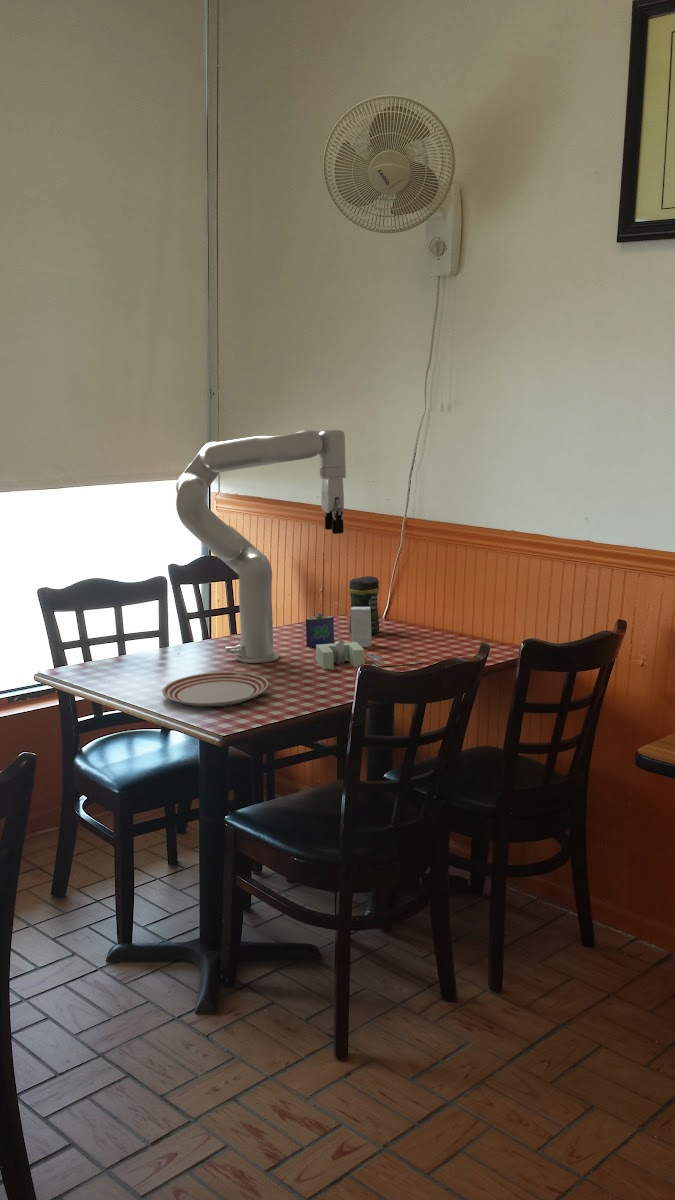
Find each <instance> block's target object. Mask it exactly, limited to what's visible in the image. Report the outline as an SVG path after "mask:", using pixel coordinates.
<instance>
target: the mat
mask: <svg viewBox="0 0 675 1200" xmlns="http://www.w3.org/2000/svg"><path fill="white" fill-rule="evenodd" d="M406 652H408V651H406ZM371 654H372V653H370V654H366V655H367V656H368V657H369V658H370V659H371V660H375V659H374V658H376V659H383V658H380V657H382V656H377V655H376V654H377V653H374V654H375V655H373V656H371ZM367 656H366V657H367ZM368 657H367V658H368ZM369 658H368V659H369ZM370 659H369V660H370ZM371 660H370V661H371ZM376 661H378V660H376ZM378 662H381V661H378ZM374 663H376V665H375V666H376V667H377V666H380V665H378V663H377V662H374ZM374 663H373V664H374ZM381 663H384V662H381ZM417 663H422V664H423V662H422V661H421V660H420V662H417ZM380 668H384V667H383V666H381V667H380Z"/></svg>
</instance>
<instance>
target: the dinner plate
mask: <svg viewBox="0 0 675 1200" xmlns="http://www.w3.org/2000/svg"><path fill="white" fill-rule="evenodd" d="M269 686H270V685H269V681H268V679H267V678H265V677H264V676H261V675H259V674H255V673H254V674H253V673H250V672H240V671H214V672H213V671H212V672H204V673H198V674H193V675H190V676H185V677H181V678H177V679H175V680H172V681H171V682H170V683H167V684H166V685H165V686H164V687H163V688H162V691H161V692H162V695H163V697H165V698H166V699H168V700H171V701H174V702H176V703H179V704H184V705H188V706H192V705H194V706H193V707H198V706H221V707H226V706H225V705H229V706H233V705H232V704H234V705H237V704H236V703H238V704H241V703H243V701H244V702H246V701H249V700H251V699H254V698H256V697H258V696H259V695H261V694H262V693H264V692H265V691H266V690H267V689H268V688H269ZM240 702H241V703H240Z"/></svg>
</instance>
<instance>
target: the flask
mask: <svg viewBox="0 0 675 1200" xmlns="http://www.w3.org/2000/svg"><path fill="white" fill-rule="evenodd" d="M317 613H318V615H316V616H310V617H308V618H305V636H306V637H305V641H306V648H307V647H316V645H319V644H333V643H335V642H336V641H335V624H334V623H335V622H334V621H335V619H334V618H335V617H334V616H333V615H327V616H324V615H323V614H324V613H323V612H322V611H319V612H317Z"/></svg>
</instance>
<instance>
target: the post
mask: <svg viewBox="0 0 675 1200" xmlns="http://www.w3.org/2000/svg"><path fill="white" fill-rule="evenodd" d="M334 642H335V646H336V663H335V664H336V665H337V664H343V665H345V662H344V643H345V642H344V641H343V640H337V641H334Z"/></svg>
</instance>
